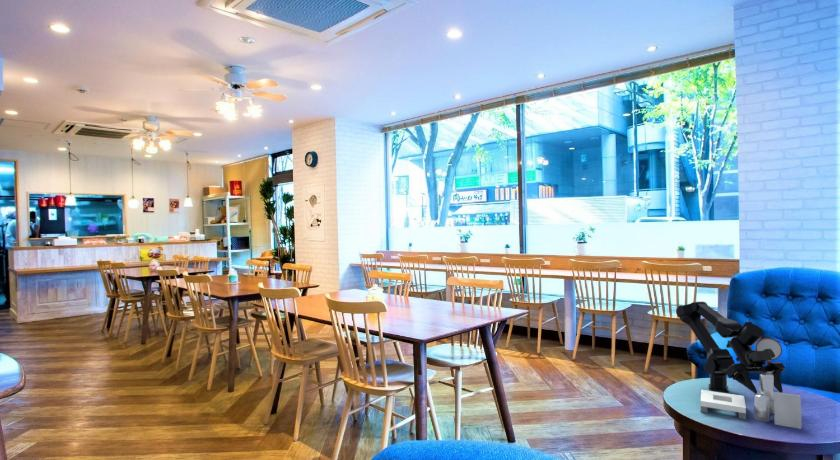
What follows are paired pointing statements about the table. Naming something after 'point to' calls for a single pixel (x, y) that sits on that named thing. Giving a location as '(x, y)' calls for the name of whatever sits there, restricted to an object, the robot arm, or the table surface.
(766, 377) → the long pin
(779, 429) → the table surface
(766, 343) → the magnifying glass
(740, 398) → the hole board
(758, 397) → the short pin
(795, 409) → the ivan chai tea box
